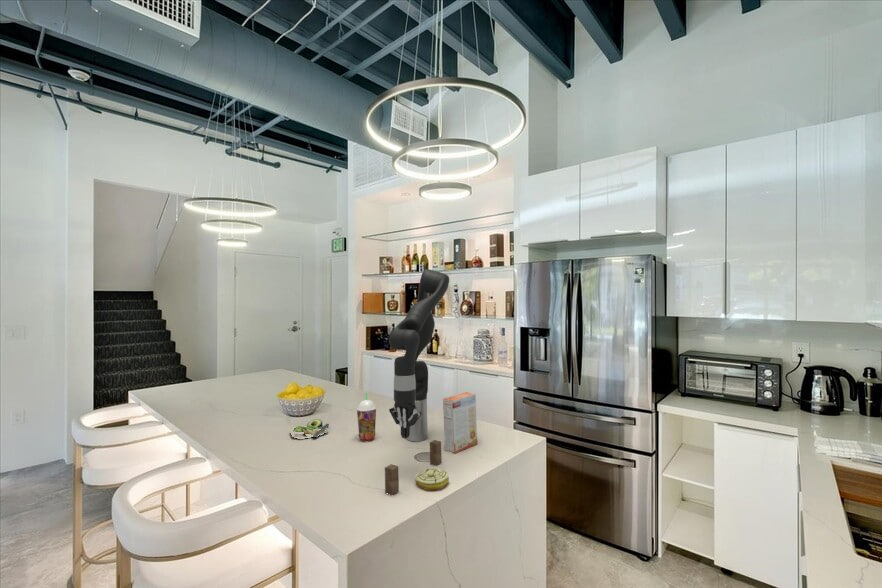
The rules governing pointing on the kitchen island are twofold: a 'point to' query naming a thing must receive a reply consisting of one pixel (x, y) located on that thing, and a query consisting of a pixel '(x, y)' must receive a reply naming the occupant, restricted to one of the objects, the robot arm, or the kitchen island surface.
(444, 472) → the decorated donut
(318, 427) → the salad plate
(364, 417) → the smoothie
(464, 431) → the cracker box
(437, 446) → the posts
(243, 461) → the kitchen island surface
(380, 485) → the kitchen island surface
